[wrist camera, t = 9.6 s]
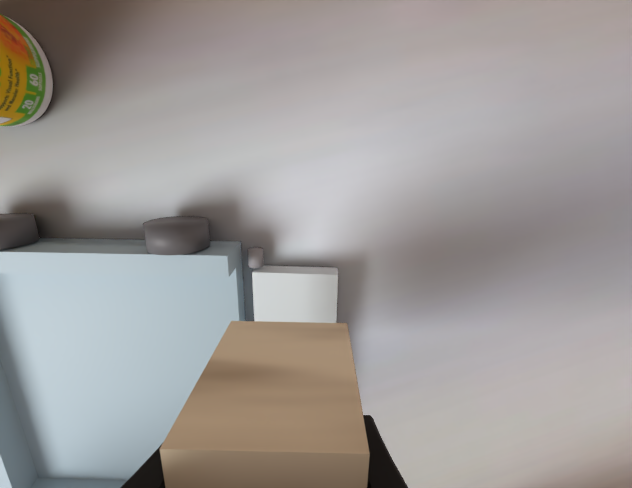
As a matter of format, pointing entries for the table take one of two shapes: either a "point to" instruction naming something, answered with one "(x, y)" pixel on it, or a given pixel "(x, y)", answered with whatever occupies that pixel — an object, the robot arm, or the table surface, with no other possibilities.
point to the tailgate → (295, 294)
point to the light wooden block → (272, 413)
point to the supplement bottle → (22, 76)
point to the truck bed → (105, 344)
